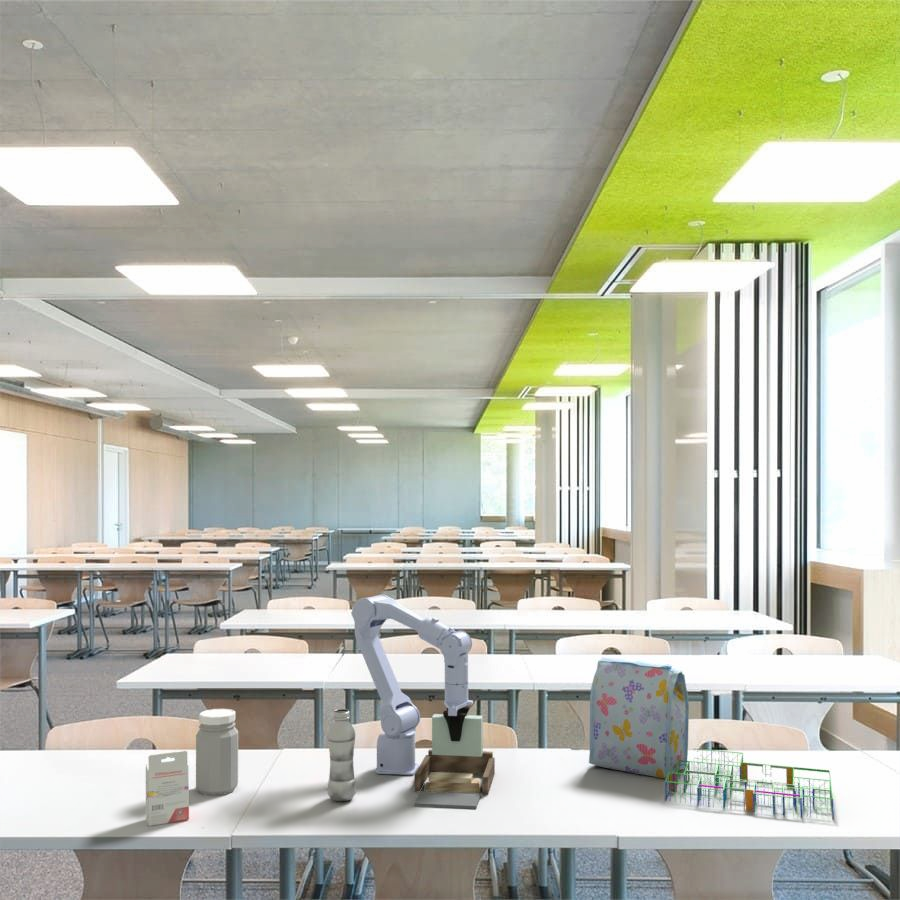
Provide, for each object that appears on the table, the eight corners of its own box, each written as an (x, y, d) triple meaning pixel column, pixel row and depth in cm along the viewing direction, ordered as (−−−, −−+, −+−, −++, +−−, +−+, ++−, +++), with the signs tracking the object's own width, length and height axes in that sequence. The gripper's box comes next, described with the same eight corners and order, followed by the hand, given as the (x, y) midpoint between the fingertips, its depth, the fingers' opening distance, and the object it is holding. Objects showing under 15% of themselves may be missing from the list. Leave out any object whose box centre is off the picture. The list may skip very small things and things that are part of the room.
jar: (241, 793, 215) (242, 715, 216) (198, 799, 211) (198, 719, 212) (234, 781, 224) (234, 706, 225) (193, 786, 220) (193, 710, 221)
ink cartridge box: (186, 813, 202) (186, 745, 203) (189, 820, 198) (189, 750, 199) (144, 818, 199) (145, 749, 200) (147, 826, 195) (147, 755, 195)
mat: (413, 806, 206) (413, 803, 206) (420, 794, 214) (420, 791, 214) (476, 808, 204) (476, 806, 204) (480, 796, 212) (480, 794, 212)
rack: (414, 791, 216) (414, 769, 216) (427, 769, 232) (426, 749, 233) (488, 794, 213) (487, 772, 213) (495, 772, 230) (495, 751, 230)
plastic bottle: (361, 796, 212) (360, 708, 213) (348, 806, 206) (348, 715, 207) (335, 793, 215) (335, 706, 215) (322, 803, 208) (322, 713, 209)
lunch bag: (695, 765, 234) (693, 659, 236) (674, 783, 220) (672, 671, 221) (611, 752, 246) (610, 652, 247) (586, 769, 232) (585, 662, 233)
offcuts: (424, 793, 216) (424, 777, 216) (426, 787, 220) (426, 771, 220) (479, 794, 214) (479, 778, 214) (481, 788, 219) (481, 773, 219)
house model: (664, 803, 207) (664, 782, 208) (679, 766, 235) (679, 747, 235) (833, 822, 195) (833, 799, 196) (828, 780, 223) (828, 760, 223)
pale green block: (432, 754, 224) (432, 717, 224) (434, 751, 227) (434, 714, 227) (481, 756, 222) (481, 718, 222) (482, 753, 225) (482, 715, 225)
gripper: (469, 689, 217) (469, 747, 217) (476, 676, 232) (476, 731, 231) (439, 688, 218) (439, 746, 218) (448, 675, 233) (448, 730, 232)
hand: (456, 738), depth 225 cm, fingers closed on pale green block, 3 cm apart
